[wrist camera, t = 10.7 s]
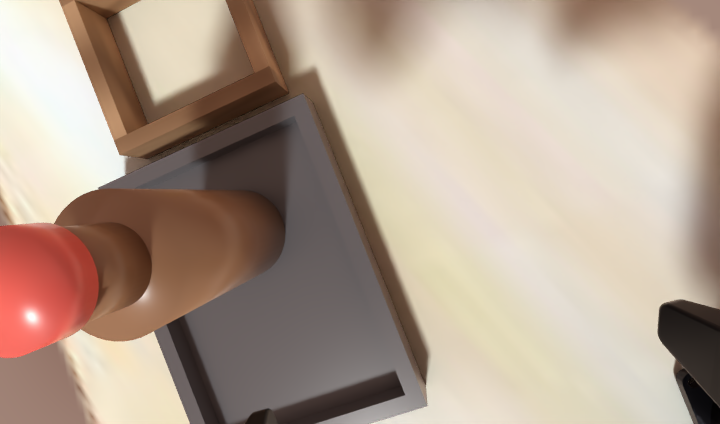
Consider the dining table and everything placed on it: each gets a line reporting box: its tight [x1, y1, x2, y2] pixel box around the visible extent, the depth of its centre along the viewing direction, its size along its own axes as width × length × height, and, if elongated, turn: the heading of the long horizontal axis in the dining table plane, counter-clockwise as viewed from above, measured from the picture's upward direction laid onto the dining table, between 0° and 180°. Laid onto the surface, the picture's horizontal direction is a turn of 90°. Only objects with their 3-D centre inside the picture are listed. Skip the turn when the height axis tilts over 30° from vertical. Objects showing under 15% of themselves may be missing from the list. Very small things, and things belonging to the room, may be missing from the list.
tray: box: [98, 94, 427, 424], centre depth 19 cm, size 16×12×2 cm
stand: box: [59, 0, 289, 159], centre depth 19 cm, size 9×9×2 cm
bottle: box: [0, 188, 285, 358], centre depth 14 cm, size 5×5×12 cm
